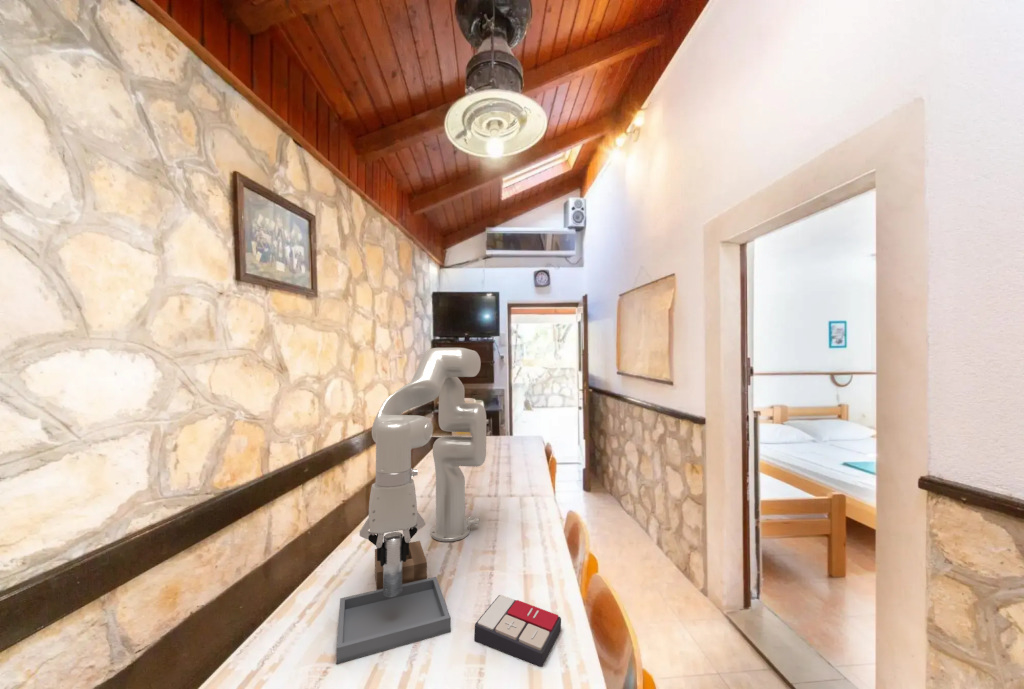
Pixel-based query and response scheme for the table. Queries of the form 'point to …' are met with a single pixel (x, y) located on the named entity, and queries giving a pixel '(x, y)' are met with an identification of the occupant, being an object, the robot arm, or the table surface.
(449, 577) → the table surface
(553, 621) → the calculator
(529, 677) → the table surface
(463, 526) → the robot arm
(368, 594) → the tray
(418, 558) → the block
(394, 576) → the pin
